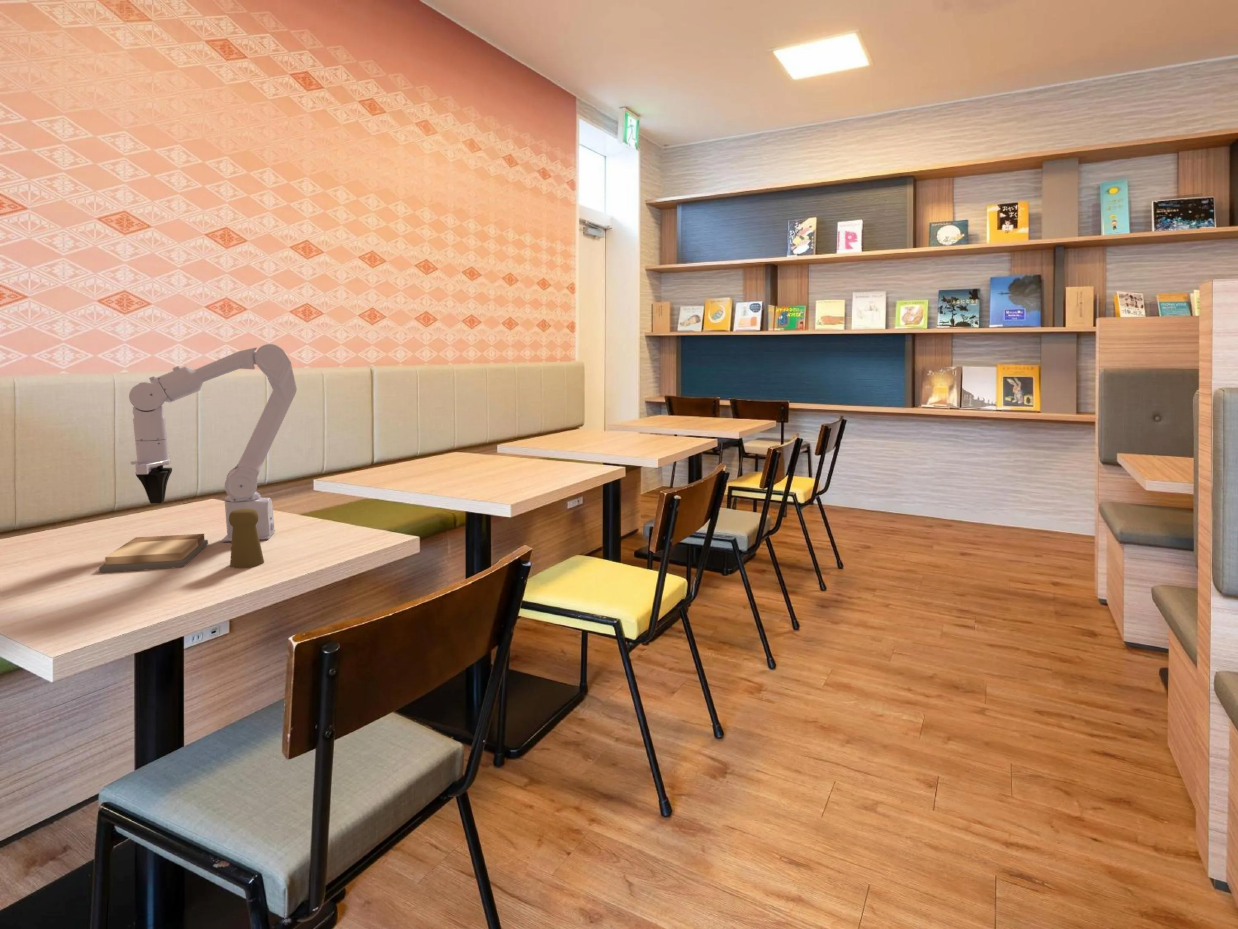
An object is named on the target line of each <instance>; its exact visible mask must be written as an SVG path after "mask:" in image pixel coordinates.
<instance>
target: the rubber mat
mask: <svg viewBox="0 0 1238 929" xmlns="http://www.w3.org/2000/svg"><path fill="white" fill-rule="evenodd" d="M208 545H209V539H205V540H204V541H203V542H202V543H201V544H200V545H199V546H197V547H196V548H195V549H194V550H193V551H192V552H191V553H189V554H188V555H187V556H186V557H185V558H184V559H183V560H175V561H159V562H143V563H128V564H112V565H106V563H104V564H102V565H101V566H99V567H98V570H99V573H100V572H103V573H113V571H118V572H125V571H124V570H133V571H144V570H143V569H148V570H158V569H157V568H163V569H173V568H172V567H178V568H183V567H185V566H186V565H187V564H188V563H189V562H191V561H192V559H193V558H195V557H196V556H197V555H198V554H199V553H200V552H201V551H202V550H204V548H206V547H207V546H208ZM205 546H206V547H205ZM195 555H196V556H195ZM194 556H195V557H194ZM185 564H186V565H185ZM184 565H185V566H184Z"/></svg>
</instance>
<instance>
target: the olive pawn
mask: <svg viewBox="0 0 1238 929" xmlns="http://www.w3.org/2000/svg"><path fill="white" fill-rule="evenodd" d="M258 519H259V516H258V512H257V511H256V510H254V509H250V508H242V509H237V510H234V511H232V512H231V513H230V515H229V522H230V525H231V526H232V527H233V531H232V541H231V547H230V548H231V549H230V563H229V566H230V567H231V568H233V567H234V569H246V568H247V569H248V567H249V568H254V567H258V566H261V565H263V564H265V560H264V556H263V550H262V546H261V545H262V544H261V543H260V540H259V536H258V532H257V527H256V524H257V522H258Z"/></svg>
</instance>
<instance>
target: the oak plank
mask: <svg viewBox="0 0 1238 929" xmlns="http://www.w3.org/2000/svg"><path fill="white" fill-rule="evenodd" d="M197 546H198V539H185V540H167V541H150V542H132V543H128V542H126V543H124V544H123V545H122V546H120V547H118V548H117V549H115V550H114V551H112V552H111V553H109V554H107V555H106V556H104V560H105V563H106V565H112V564H128V563H143V562H159V561H175V560H183V559H184V558H185V557H186V556H187V555H188V554H189V553H191V552H192V551H193V550H194V549H195V548H196V547H197ZM105 563H104V564H105Z"/></svg>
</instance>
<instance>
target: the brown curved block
mask: <svg viewBox="0 0 1238 929" xmlns="http://www.w3.org/2000/svg"><path fill="white" fill-rule="evenodd" d="M185 539H198V546H199V545H200V544H201V543H202V542H203V541H204V540H206V539H205V533H194V534H190V533H189V534H173V535H170V534H169V535H156V536H155V535H154V536H139V537H138V536H137V537H134V538H132V539H130V541H128V542H127V543H132V542H150V541H167V540H185Z"/></svg>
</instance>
